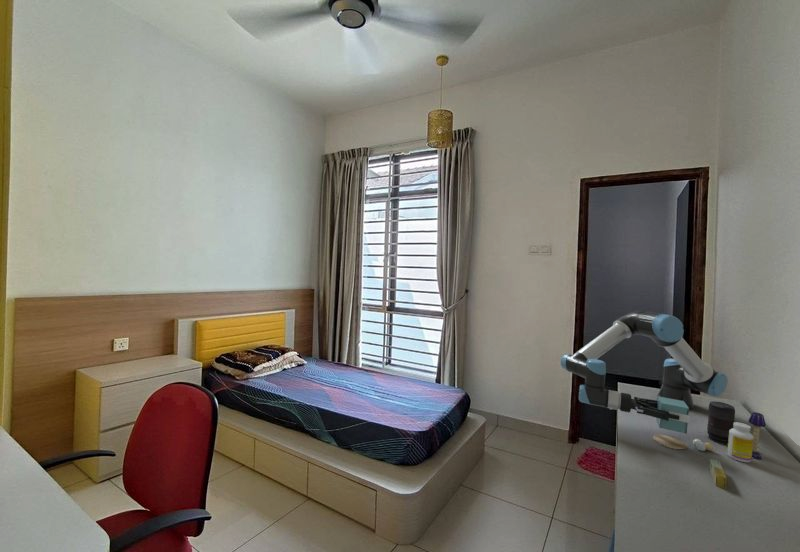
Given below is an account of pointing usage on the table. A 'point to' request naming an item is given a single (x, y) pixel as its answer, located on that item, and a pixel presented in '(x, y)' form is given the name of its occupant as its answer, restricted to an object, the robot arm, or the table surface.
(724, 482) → the medication box
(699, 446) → the marble
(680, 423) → the teal cube
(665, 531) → the table surface
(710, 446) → the marble
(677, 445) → the coaster
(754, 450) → the toy lamp
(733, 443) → the supplement bottle
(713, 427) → the camera lens
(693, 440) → the marble
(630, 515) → the table surface
